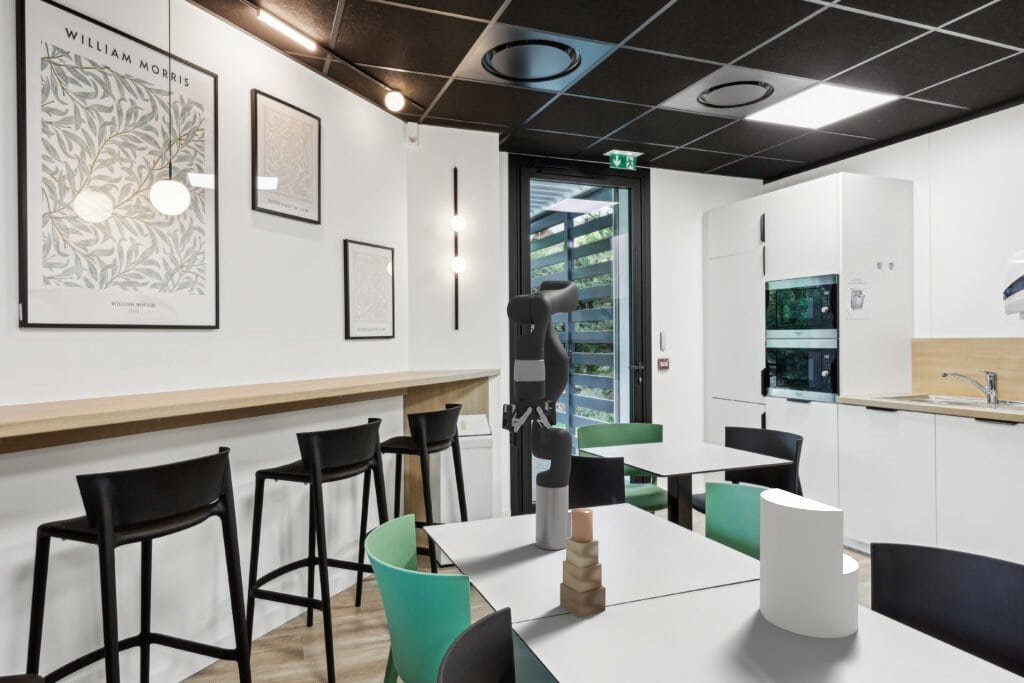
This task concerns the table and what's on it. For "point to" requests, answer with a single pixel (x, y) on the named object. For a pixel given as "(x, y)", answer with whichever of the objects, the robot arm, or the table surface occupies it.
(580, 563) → the tower top
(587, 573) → the tower mid
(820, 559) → the cylinder
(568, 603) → the tower base
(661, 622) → the table surface
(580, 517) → the cylinder
